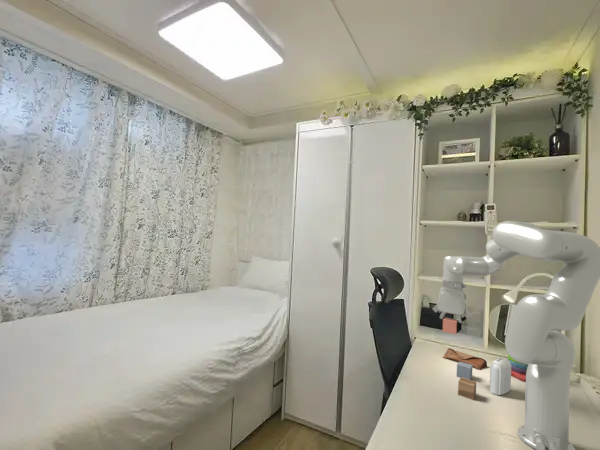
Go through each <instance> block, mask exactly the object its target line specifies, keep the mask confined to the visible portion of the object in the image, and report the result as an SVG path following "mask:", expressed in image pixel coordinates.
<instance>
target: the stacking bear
mask: <svg viewBox="0 0 600 450" xmlns="http://www.w3.org/2000/svg"><path fill="white" fill-rule="evenodd" d="M507 360H509V361H510V363H511V377H514V378H516V379H517V380H519V381H522V382H523V383H526V372H527V367H528V365H527V364H522V363H519V362H517V361H515V360H514V359H512V358H511V357H510V355H509V354H508V355H507Z"/></svg>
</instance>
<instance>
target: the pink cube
mask: <svg viewBox="0 0 600 450" xmlns="http://www.w3.org/2000/svg"><path fill="white" fill-rule="evenodd" d="M457 322H458V318H456V319H455V318H452V317H446V316H445V318H444V319H443V329H442V332H443V333H448V334H451V335H458V333H457Z"/></svg>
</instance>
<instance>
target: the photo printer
mask: <svg viewBox="0 0 600 450" xmlns="http://www.w3.org/2000/svg"><path fill="white" fill-rule="evenodd" d="M489 371H490V372H489V374H490V375H489V391H490V392H491V394H493V395H497V396H502V395H504V394H507V393H509V392H510V391H511V389H512V388H511V387H512V385H511V384H512V376H511V363H510V361H509V360H508V358H504V357H499V358H497V359H496V358H495V360H493V361H492V362H491V364H490V370H489Z"/></svg>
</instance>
